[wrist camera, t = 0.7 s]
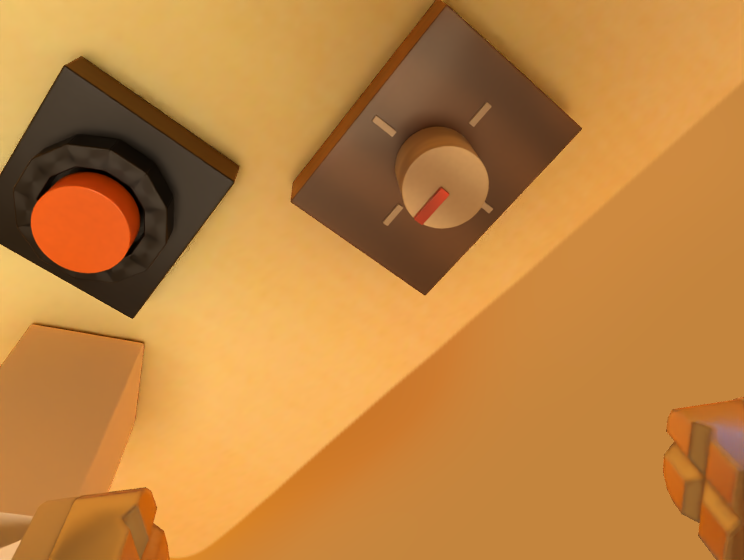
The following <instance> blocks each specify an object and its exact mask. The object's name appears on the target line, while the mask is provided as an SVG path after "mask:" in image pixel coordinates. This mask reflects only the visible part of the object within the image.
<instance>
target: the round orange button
mask: <svg viewBox="0 0 744 560" xmlns="http://www.w3.org/2000/svg"><path fill="white" fill-rule="evenodd" d="M139 228H140V214H139V209H138V207H137V204H136V202H135V200H134V198H133V197H132V195H131V194H130V193H129V192H128V191H127V189H126V188H124V187H123V186H122V185H121V184H120V183H118V182H117V181H115V180H114V179H112V178H110V177H108V176H105V175H102V174H99V173H94V172H77V173H72V174H69V175H67V176H65V177H63V178H61V179H60V180H58V181H57V182H56V183H55V184H54V185H53V186H52V187H51V188H50V189H49V190H48V191H47V192H46V193H45V194H44V195H43V196H42V197H41V198H40V199H39V200H38V201H37V203H36V204H35V206H34V208H33V211H32V215H31V229H32V233H33V236H34V239H35V241H36V243H37V245H38V246H39V248H40V249H41V250H42V251H43V253H44V254H45V255H46V256H47V257H48V258H50V259H51V260H52V261H53V262H55V263H56V264H58V265H60V266H62V267H64V268H66V269H69V270H72V271H75V272H81V273H97V272H102V271H105V270H108V269H110V268H112V267H114V266H115V265H117V264H118V263H119V262H120V261H121V260H122V259H123V258H124V257H125V255H126V253H127V252H128V250H129V248H130V247H131V245H132V243H133V241H134V240H135V238H136V236H137V234H138V232H139Z"/></svg>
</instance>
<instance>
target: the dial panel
mask: <svg viewBox="0 0 744 560" xmlns="http://www.w3.org/2000/svg"><path fill="white" fill-rule="evenodd" d="M429 127H446V128H450V129H453V130H455V131H457V132H458V133H460V134H461V135H463V136H464V137H465V138H466V139H467V141H468V142H469V143H470V145H471V146H472V148H473V149H474V151H475V152H476V154H477V155H478V157H479V158H480V160H481V161H482V163H483V164H484V166H485V168H486V171H487V174H488V179H489V189H488V194H487V197H486V200H485V202H484V204H483V205H482V207H481V209H480V210H479V211H478V212H477V213H476V214H475V215H474V216H473V217H472V218H471V219H470V220H468V221H466V222H465V223H463V224H461V225H458V226H455V227H451V228H443V229H441V228H433V227H429V226H426V225H424V224H423V225H421V224H420V223H418V222H417V221H416V220H414V218H413V217H412V216H411V214H410V213H409V212H408V210H407V209H406V207H405V205H404V202H403V199H402V195H401V192H400V189H399V185H398V182H397V178H396V174H395V162H396V157H397V154H398V152H399V150H400V148H401V146H402V145H403V144H404V142H405V141H406V140H407V139H408V138H409V137H410V136H412V135H413V134H415V133H416V132H418V131H420V130H422V129H425V128H429ZM581 130H582V128H581V127H580V126H579V125H578V124H577V123H576V122H575V121H574V120H572V119H571V118H570V117H569V116H568V115H567V114H566V113H565V112H564V111H563V110H562V109H560V108H559V107H558V106H557V105H556V104H555V103H554V102H553V101H552V100H551V99H549V98H548V97H547V96H546V95H545V94H544V93H543V92H542V91H541V90H540V89H539V88H537V87H536V86H535V85H534V84H533V83H532V82H531V81H530V80H529V79H528V78H527V77H525V76H524V75H523V74H522V73H521V72H520V71H519V70H518V69H517V68H516V67H515V66H513V65H512V64H511V63H510V62H509V61H508V60H507V59H506V58H505V57H504V56H503V55H501V54H500V53H499V52H498V51H497V50H496V49H495V48H494V47H493V46H492V45H491V44H489V43H488V42H487V41H486V40H485V39H484V38H483V37H482V36H481V35H480V34H479V33H477V32H476V31H475V30H474V29H473V28H472V27H471V26H470V25H469V24H468V23H467V22H465V21H464V20H463V19H462V18H461V17H460V16H459V15H458V14H457V13H456V12H454V11H453V10H452V9H451V8H450V7H449V6H448V5H447V4H445V3H444V2H442V1H440V0H436V1H435V2H434V3H433V5H432V6H431V7H430V8H429V10H428V11H427V12H426V13H425V15H424V16H423V17H422V19H421V20H420V21H419V22H418V24H417V25H416V26H415V28H414V29H413V30H412V31H411V33H410V34H409V35H408V36H407V38H406V39H405V40H404V42H403V43H402V44H401V45H400V47H399V48H398V49H397V51H396V52H395V53H394V54H393V56H392V57H391V58H390V59H389V61H388V62H387V63H386V65H385V66H384V67H383V68H382V70H381V71H380V72H379V74H378V75H377V76H376V77H375V79H374V80H373V81H372V82H371V84H370V85H369V86H368V88H367V89H366V90H365V91H364V93H363V94H362V95H361V97H360V98H359V99H358V100H357V102H356V103H355V104H354V105H353V107H352V108H351V109H350V111H349V112H348V113H347V114H346V116H345V117H344V118H343V120H342V121H341V122H340V123H339V125H338V126H337V127H336V128H335V130H334V131H333V132H332V134H331V135H330V136H329V137H328V139H327V140H326V141H325V143H324V144H323V145H322V146H321V148H320V149H319V150H318V151H317V153H316V154H315V155H314V157H313V158H312V159H311V160H310V162H309V163H308V164H307V166H306V167H305V168H304V169H303V171H302V172H301V173H300V174H299V176H298V177H297V178H296V180H295V181H294V182H293V186H292V195H291V202H292V203H293V204H295V205H296V206H297V207H299V208H300V209H302V210H303V211H305V212H306V213H307V214H309V215H310V216H312V217H313V218H315V219H316V220H317V221H319V222H320V223H322V224H323V225H325V226H326V227H327V228H329V229H330V230H332V231H333V232H335V233H336V234H337V235H339V236H340V237H342V238H343V239H345V240H346V241H348V242H349V243H350V244H352V245H353V246H355V247H356V248H358V249H359V250H360V251H362V252H363V253H365V254H366V255H368V256H369V257H370V258H372V259H373V260H375V261H376V262H378V263H379V264H380V265H382V266H383V267H385V268H386V269H388V270H389V271H390V272H392V273H393V274H395V275H396V276H398V277H399V278H401V279H402V280H403V281H405V282H406V283H408V284H409V285H411V286H412V287H413V288H415V289H416V290H418V291H419V292H421V293H422V294H423V295H426V294H427V293H428V292H429V291H430V290H431V289H432V288H433V287H434V286H435V285H436V284H437V282H438V281H439V280H440V279H441V278H442V277H443V276H444V275H445V274H446V273H447V272H448V271H449V270H450V269H451V268H452V267H453V265H454V264H455V263H456V262H457V261H458V260H459V259H460V258H461V257H462V256H463V255H464V254H465V253H466V252H467V251H468V250H469V248H470V247H471V246H472V245H473V244H474V243H475V242H476V241H477V240H478V239H479V238H480V237H481V236H482V235H483V234H484V233H485V231H486V230H487V229H488V228H489V227H490V226H491V225H492V224H493V223H494V222H495V221H496V220H497V219H498V218H499V217H500V216H501V214H502V213H503V212H504V211H505V210H506V209H507V208H508V207H509V206H510V205H511V204H512V203H513V202H514V201H515V200H516V199H517V197H518V196H519V195H520V194H521V193H522V192H523V191H524V190H525V189H526V188H527V187H528V186H529V185H530V184H531V183H532V182H533V180H534V179H535V178H536V177H537V176H538V175H539V174H540V173H541V172H542V171H543V170H544V169H545V168H546V167H547V166H548V165H549V163H550V162H551V161H552V160H553V159H554V158H555V157H556V156H557V155H558V154H559V153H560V152H561V151H562V150H563V149H564V148H565V146H566V145H567V144H568V143H569V142H570V141H571V140H572V139H573V138H574V137H575V136H576V135H577V134H578V133H579V132H580V131H581Z"/></svg>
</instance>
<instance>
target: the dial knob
mask: <svg viewBox="0 0 744 560" xmlns="http://www.w3.org/2000/svg"><path fill="white" fill-rule="evenodd" d="M395 174H396V178H397V182H398V185H399V189H400V192H401V195H402V199H403V202H404V205H405V207H406V209H407V210H408V212H409V213H410V214H411V216H412V217H413V218H414V220H416V221H417V222H418V223H420V224H421V225H423V224H424V225H426V226H429V227H433V228H441V229H443V228H451V227H455V226H458V225H461V224H463V223H465V222H466V221H468V220H470V219H471V218H472V217H473V216H474V215H475V214H476V213H477V212H478V211H479V210H480V209H481V207H482V205H483V204H484V202H485V200H486V197H487V194H488V189H489V179H488V174H487V171H486V168H485V166H484V164H483V163H482V161H481V160H480V158H479V157H478V155H477V154H476V152H475V151H474V149H473V148H472V146H471V145H470V143H469V142H468V141H467V139H466V138H465V137H464V136H463V135H461V134H460V133H458V132H457V131H455V130H453V129H450V128H446V127H429V128H425V129H422V130H420V131H418V132H416V133H415V134H413V135H412V136H410V137H409V138H408V139H407V140H406V141H405V142H404V144H403V145H402V146H401V148H400V150H399V152H398V154H397V157H396V162H395Z"/></svg>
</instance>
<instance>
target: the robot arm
mask: <svg viewBox="0 0 744 560" xmlns="http://www.w3.org/2000/svg"><path fill="white" fill-rule="evenodd" d="M666 432H667V433H668V434H669V435H670V436H671V437H672V439H673V440H674V443H673V444H672V445H671V446H670V448H669V449H668V450H667V451H666V453H665V454H664V465H663V473H664V477H665V482H666V486H667V490H668V492H669V494H670V496H671V498H672V500H673V502H674V504H675V505H676V507H677V508H678V509H679V511H680V512H681V513H682V514H683V515H685V516H687V517H689V518H690V519H692V520H694V521H697V522H698V523H700V525H699V533H698V536H699V538H700V539H701V540H702V542H703V543H704V544H705V545H706V547H707V548H708V549H709V551H710V552H711V553H712V555H713V556H714V557H715V559H716V560H744V397H742V398H736V399H733V400H731V401H724V402H717V403H711V404H704V405H698V406H692V407H685V408H678V409H673V410H672V411H671V413H670V415H669V416H668V420H667V429H666ZM156 510H157V507H156V504H155V501H154V498H153V495H152V492H151V491H150V490H149V489H147V488H146V487H145V488H137V489H130V490H122V491H114V492H106V493H98V494H90V495H82V496H80V497H69V498H62V499H55V500H48V501H46V502H44V503H43V504H41V505H40V506H39V507H38V509H37V511H36V513H35V515H34V517H33V519H32V521H31V522H30V524H29V526H28V528H27V530H26V532H25V534H24V536H23V538H22V540H21V542H20V544H19V546H18V548H17V550H16V552H15V554H14V556H13V557H12V559H11V560H169V552H168V545H167V541H166V537H165V533H164V531H163V530H162V529H161V528H159V527H158V526H156V525H155V524H154V523H153V521H154V518H155V514H156Z"/></svg>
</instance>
